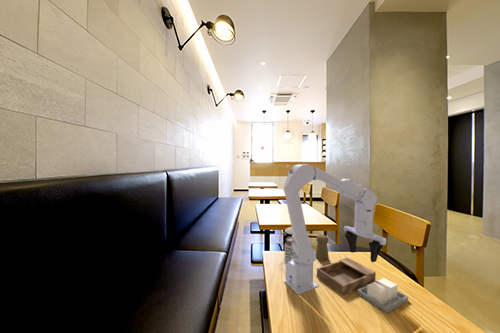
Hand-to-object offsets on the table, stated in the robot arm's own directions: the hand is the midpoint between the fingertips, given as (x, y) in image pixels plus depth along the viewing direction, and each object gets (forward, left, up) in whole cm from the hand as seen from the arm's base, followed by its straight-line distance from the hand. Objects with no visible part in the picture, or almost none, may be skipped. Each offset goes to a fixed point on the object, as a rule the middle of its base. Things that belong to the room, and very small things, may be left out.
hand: (362, 256), depth 67 cm
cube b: (+1, -8, -9) cm, 12 cm away
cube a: (-5, -8, -9) cm, 13 cm away
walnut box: (-4, +4, -10) cm, 11 cm away
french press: (-14, +24, -10) cm, 30 cm away
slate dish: (-2, -8, -10) cm, 13 cm away
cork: (0, +19, -10) cm, 22 cm away
